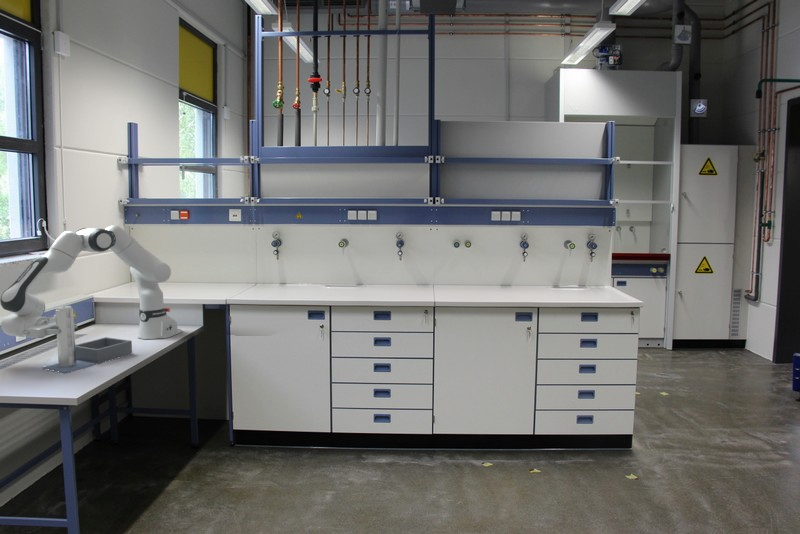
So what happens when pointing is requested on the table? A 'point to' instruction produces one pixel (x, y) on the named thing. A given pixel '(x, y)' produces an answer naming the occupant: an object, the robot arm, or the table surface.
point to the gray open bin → (103, 350)
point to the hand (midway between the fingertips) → (67, 329)
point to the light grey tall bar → (65, 336)
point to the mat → (65, 370)
